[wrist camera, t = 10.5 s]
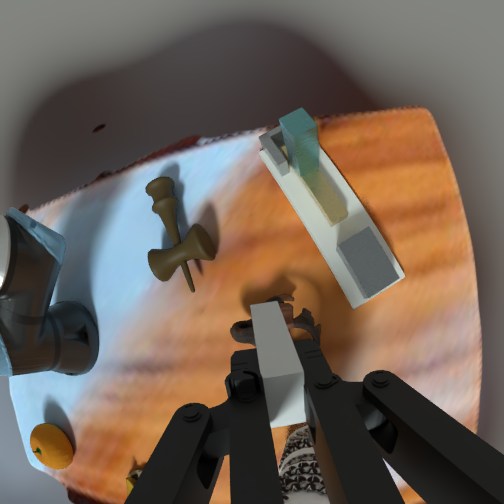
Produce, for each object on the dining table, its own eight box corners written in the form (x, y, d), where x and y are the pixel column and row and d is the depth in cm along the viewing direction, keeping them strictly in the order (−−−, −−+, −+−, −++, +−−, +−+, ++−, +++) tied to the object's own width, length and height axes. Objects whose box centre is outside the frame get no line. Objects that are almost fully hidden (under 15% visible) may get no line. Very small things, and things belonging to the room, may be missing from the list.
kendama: (190, 177, 50) (229, 281, 45) (146, 202, 52) (177, 305, 46) (174, 161, 45) (214, 276, 39) (127, 191, 46) (157, 303, 41)
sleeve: (392, 280, 38) (399, 278, 35) (364, 299, 39) (368, 298, 35) (364, 232, 40) (369, 226, 37) (336, 250, 41) (337, 244, 37)
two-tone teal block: (348, 217, 41) (359, 179, 28) (330, 227, 41) (334, 193, 29) (298, 146, 45) (289, 93, 32) (281, 155, 45) (267, 104, 32)
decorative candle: (291, 475, 37) (260, 585, 13) (275, 430, 39) (228, 534, 15) (347, 462, 35) (358, 573, 11) (334, 415, 37) (344, 521, 13)
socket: (319, 156, 44) (319, 143, 40) (281, 176, 45) (278, 165, 41) (299, 130, 46) (297, 116, 42) (263, 149, 46) (258, 136, 43)
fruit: (42, 428, 49) (13, 436, 39) (59, 413, 48) (27, 422, 38) (66, 467, 45) (39, 479, 36) (86, 457, 45) (57, 471, 35)
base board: (403, 277, 39) (405, 276, 38) (353, 309, 40) (353, 309, 39) (305, 130, 46) (304, 127, 46) (259, 155, 47) (258, 152, 46)
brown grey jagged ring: (309, 286, 42) (327, 310, 34) (309, 340, 45) (324, 371, 37) (227, 294, 42) (227, 322, 34) (233, 349, 44) (235, 383, 36)
